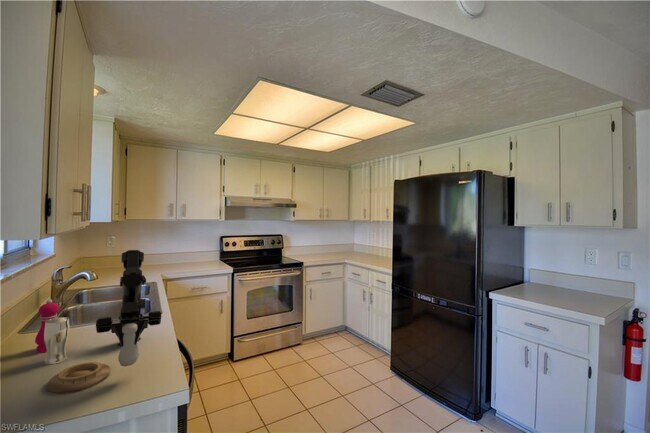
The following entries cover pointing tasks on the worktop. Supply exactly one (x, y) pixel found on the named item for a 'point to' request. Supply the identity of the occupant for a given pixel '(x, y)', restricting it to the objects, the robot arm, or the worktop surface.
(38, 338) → the pepper mill
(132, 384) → the worktop surface
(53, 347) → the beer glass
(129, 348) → the salt shaker
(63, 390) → the ring tray
